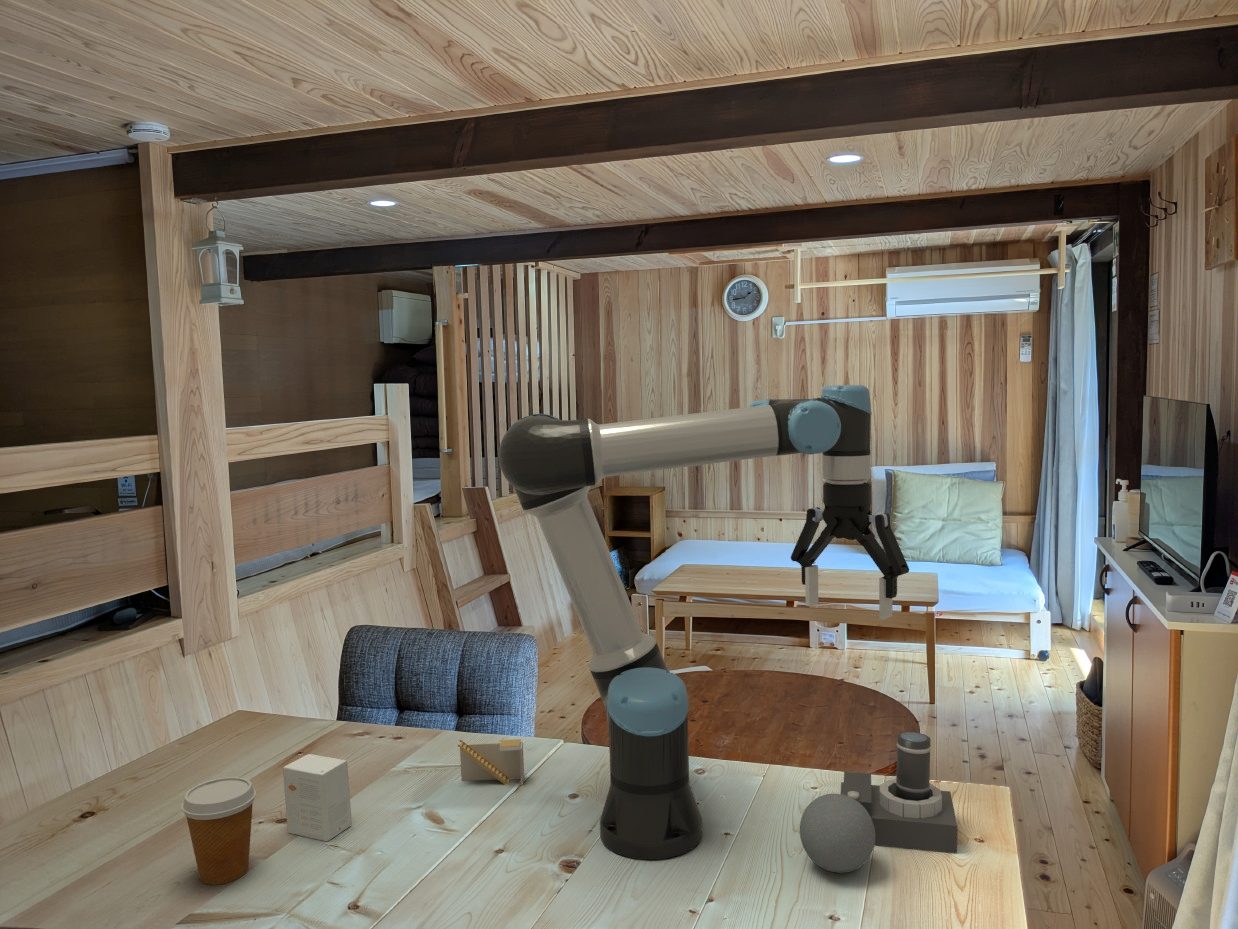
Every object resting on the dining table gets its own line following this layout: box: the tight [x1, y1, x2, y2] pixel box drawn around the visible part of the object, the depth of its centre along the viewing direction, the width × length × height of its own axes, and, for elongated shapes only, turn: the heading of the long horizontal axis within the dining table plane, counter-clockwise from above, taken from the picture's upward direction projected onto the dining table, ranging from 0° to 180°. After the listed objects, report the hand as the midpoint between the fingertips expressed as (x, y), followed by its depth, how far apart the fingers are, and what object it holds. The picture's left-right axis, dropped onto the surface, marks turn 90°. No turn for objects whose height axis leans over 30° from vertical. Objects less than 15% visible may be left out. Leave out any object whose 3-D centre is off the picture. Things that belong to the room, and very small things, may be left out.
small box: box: [282, 753, 353, 842], centre depth 139 cm, size 8×6×10 cm
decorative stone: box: [799, 793, 876, 874], centre depth 123 cm, size 10×10×10 cm
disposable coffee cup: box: [180, 776, 257, 885], centre depth 127 cm, size 10×10×12 cm
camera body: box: [839, 771, 958, 854], centre depth 134 cm, size 16×11×7 cm
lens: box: [895, 731, 932, 801], centre depth 133 cm, size 5×5×10 cm
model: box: [457, 738, 525, 787], centre depth 154 cm, size 3×11×8 cm, turn 92°
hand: (847, 611), depth 148 cm, fingers open, 13 cm apart
